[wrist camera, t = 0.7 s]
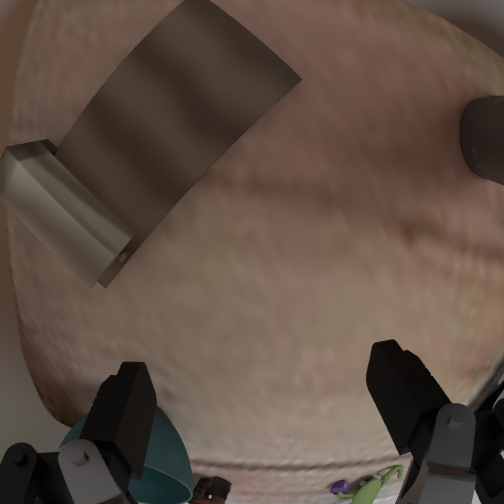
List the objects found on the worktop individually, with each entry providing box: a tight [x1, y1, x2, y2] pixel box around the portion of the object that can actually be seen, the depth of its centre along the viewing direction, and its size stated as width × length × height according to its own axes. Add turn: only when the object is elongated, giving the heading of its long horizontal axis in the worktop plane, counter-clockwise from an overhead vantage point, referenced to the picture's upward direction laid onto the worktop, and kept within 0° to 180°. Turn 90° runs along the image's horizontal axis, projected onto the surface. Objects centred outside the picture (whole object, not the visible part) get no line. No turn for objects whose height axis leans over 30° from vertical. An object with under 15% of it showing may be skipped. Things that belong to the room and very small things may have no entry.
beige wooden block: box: [0, 139, 136, 288], centre depth 23 cm, size 4×14×6 cm, turn 45°
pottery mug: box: [187, 476, 232, 504], centre depth 46 cm, size 12×10×8 cm
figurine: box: [330, 465, 403, 504], centre depth 52 cm, size 18×27×6 cm
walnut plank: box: [54, 0, 302, 288], centre depth 24 cm, size 26×12×2 cm, turn 135°
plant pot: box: [58, 407, 193, 504], centre depth 33 cm, size 18×18×12 cm
